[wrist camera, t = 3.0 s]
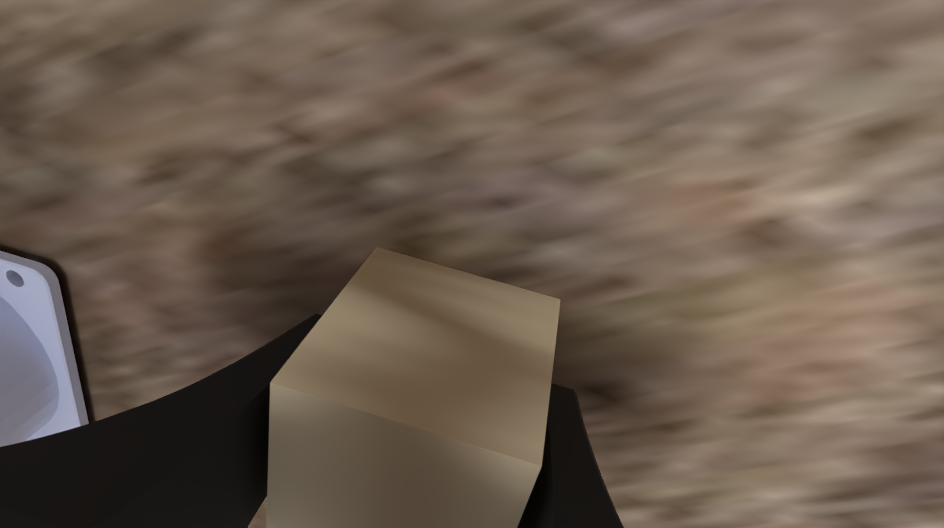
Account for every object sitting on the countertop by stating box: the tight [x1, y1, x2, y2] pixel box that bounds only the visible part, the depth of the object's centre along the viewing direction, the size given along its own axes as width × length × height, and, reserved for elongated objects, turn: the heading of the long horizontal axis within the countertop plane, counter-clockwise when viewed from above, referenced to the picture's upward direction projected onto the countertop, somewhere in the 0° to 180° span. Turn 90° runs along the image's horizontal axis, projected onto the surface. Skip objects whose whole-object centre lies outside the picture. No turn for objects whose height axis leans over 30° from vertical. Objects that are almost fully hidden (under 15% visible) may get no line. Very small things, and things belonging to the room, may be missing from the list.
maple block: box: [266, 247, 561, 528], centre depth 12 cm, size 4×4×5 cm
